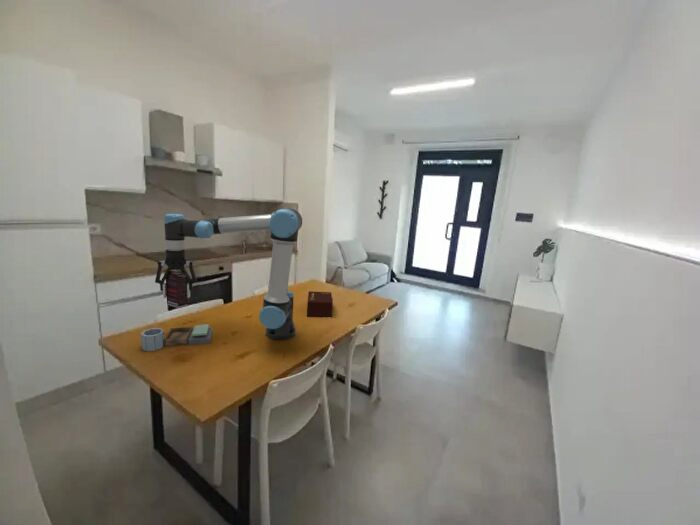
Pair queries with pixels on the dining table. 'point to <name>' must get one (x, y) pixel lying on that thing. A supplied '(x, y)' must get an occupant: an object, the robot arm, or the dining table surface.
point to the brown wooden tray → (177, 336)
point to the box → (319, 304)
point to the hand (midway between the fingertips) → (177, 297)
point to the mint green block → (200, 330)
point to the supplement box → (176, 289)
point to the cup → (152, 339)
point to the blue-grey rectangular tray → (200, 338)
